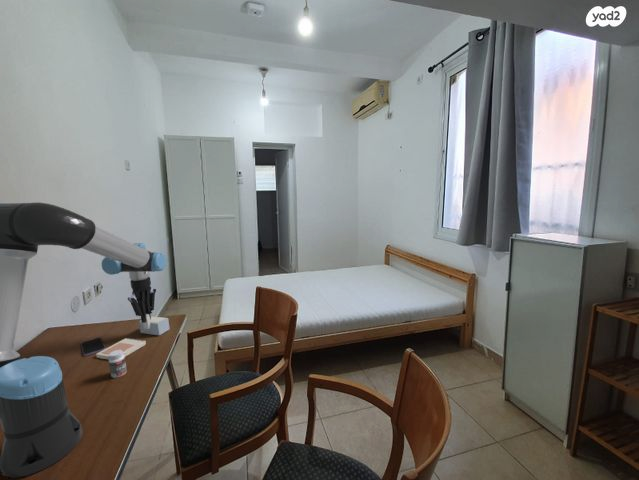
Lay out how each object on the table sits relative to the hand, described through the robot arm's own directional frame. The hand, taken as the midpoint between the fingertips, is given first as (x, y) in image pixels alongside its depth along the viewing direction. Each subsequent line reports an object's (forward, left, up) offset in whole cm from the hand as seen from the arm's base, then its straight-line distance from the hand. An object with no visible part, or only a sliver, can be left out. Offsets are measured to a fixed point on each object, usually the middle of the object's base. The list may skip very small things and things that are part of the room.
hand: (147, 327), depth 132 cm
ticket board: (-13, 0, -4) cm, 14 cm away
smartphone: (-14, +16, -4) cm, 21 cm away
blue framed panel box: (+4, 0, -3) cm, 5 cm away
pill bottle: (-26, -14, -4) cm, 29 cm away
